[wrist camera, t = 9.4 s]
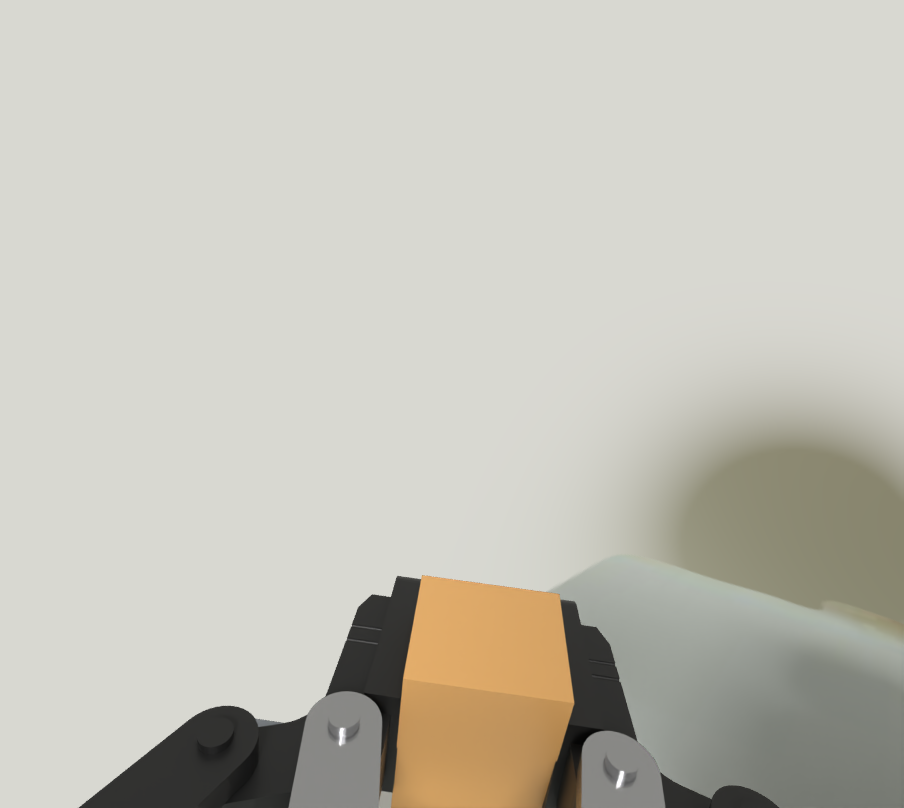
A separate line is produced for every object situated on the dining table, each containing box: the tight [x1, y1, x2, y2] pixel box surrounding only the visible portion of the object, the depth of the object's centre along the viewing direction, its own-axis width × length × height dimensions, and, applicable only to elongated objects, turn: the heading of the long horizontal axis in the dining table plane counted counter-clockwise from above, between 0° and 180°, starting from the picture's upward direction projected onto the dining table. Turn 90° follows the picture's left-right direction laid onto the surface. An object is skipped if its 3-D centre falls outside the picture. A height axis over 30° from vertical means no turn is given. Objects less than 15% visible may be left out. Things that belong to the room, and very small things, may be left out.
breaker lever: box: [391, 575, 574, 808], centre depth 12 cm, size 2×3×11 cm
